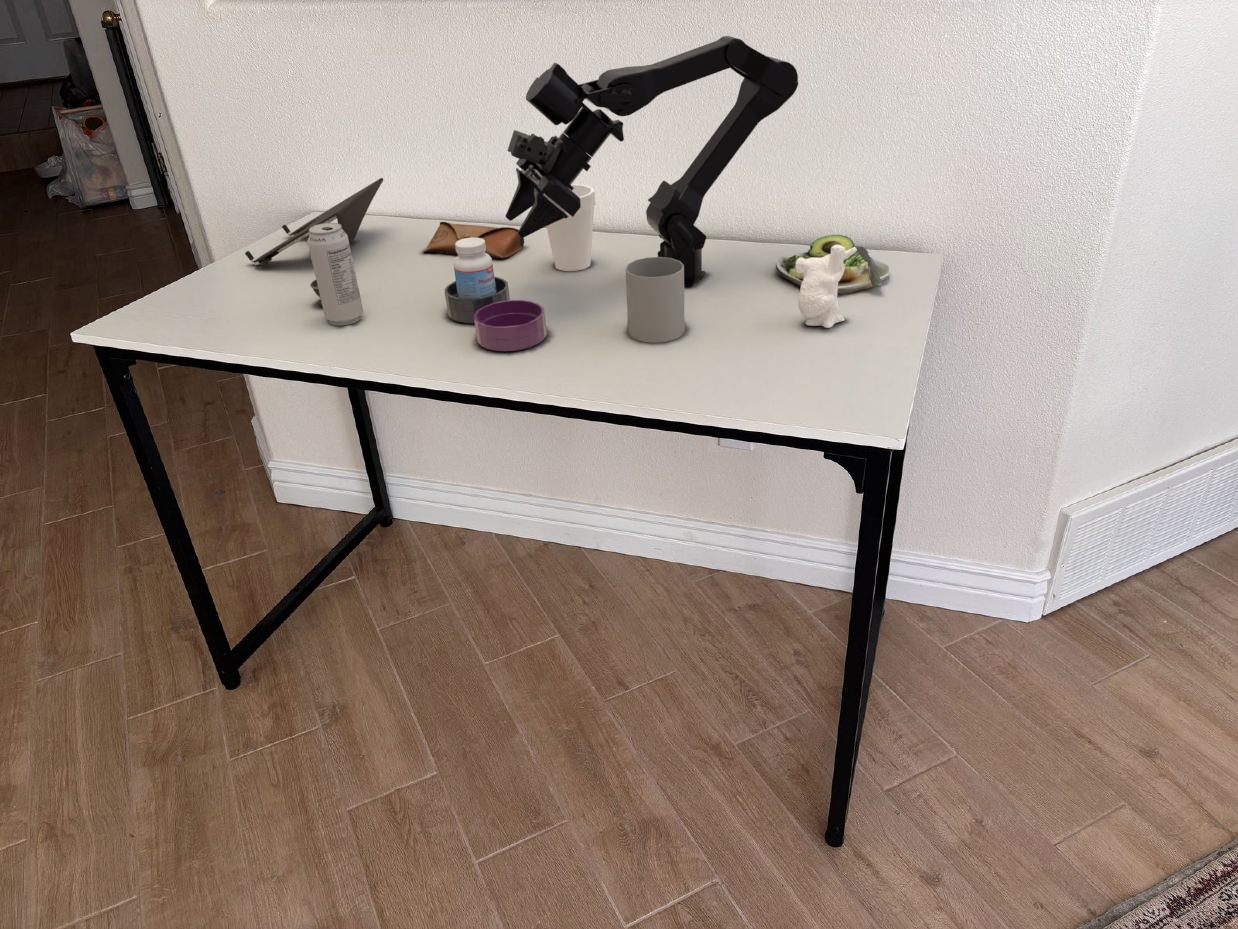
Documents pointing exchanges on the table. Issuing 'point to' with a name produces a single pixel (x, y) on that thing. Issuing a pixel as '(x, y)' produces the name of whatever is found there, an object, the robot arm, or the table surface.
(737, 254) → the table surface
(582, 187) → the foam cup
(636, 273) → the cup
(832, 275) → the white figurine
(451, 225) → the sunglasses case
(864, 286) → the salad plate
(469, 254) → the pill bottle
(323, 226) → the energy drink can
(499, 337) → the plum bowl
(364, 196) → the laptop stand
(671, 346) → the table surface
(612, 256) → the table surface
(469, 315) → the charcoal bowl
